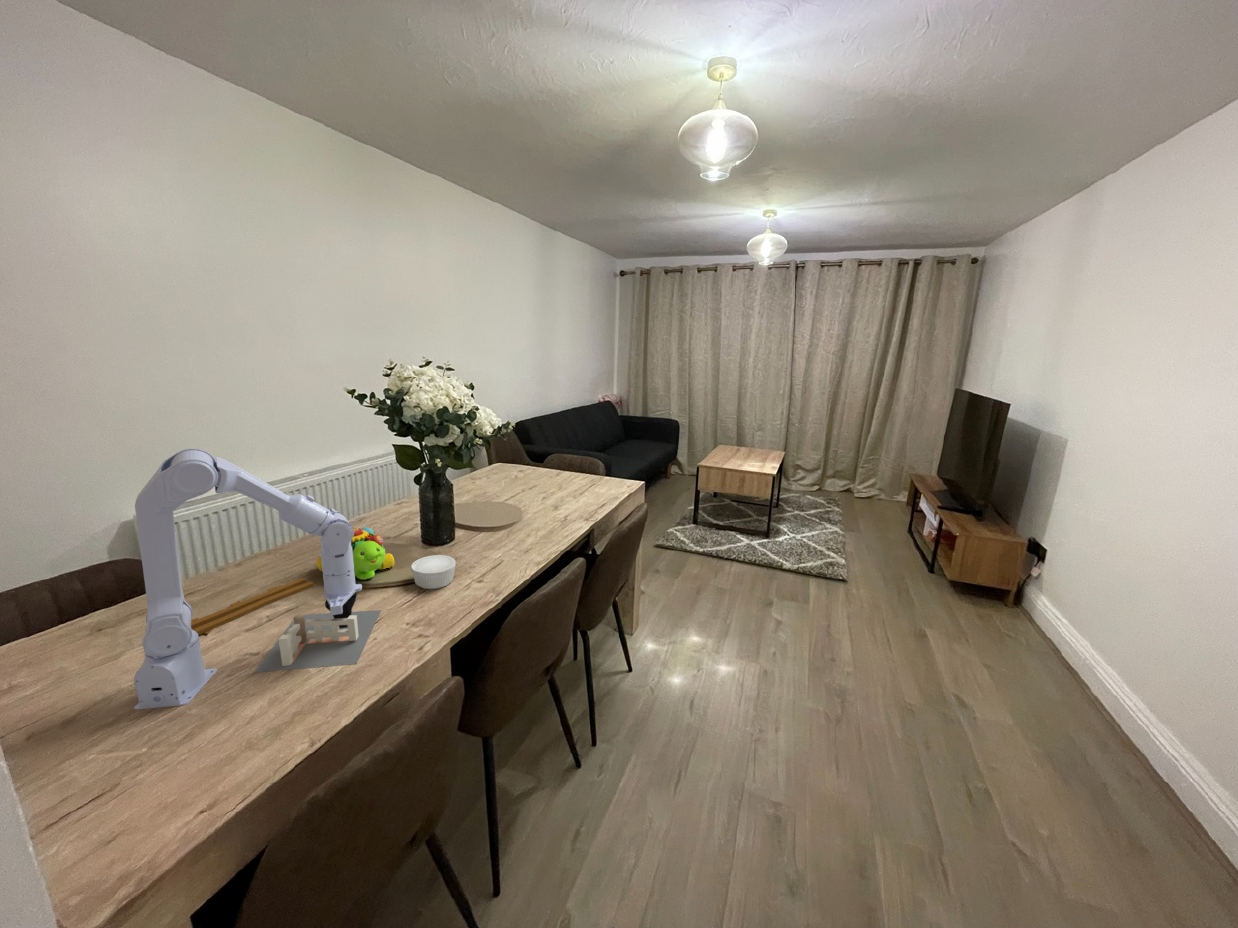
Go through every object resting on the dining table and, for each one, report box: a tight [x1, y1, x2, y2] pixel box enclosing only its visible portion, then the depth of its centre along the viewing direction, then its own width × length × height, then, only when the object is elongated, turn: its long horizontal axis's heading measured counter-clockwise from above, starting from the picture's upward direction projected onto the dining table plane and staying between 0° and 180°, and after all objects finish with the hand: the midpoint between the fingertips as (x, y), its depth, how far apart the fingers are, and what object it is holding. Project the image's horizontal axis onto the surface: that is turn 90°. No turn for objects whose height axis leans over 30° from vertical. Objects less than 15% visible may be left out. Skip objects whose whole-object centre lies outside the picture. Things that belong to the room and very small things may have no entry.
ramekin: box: [410, 554, 457, 590], centre depth 132 cm, size 11×11×5 cm
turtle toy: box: [316, 526, 396, 580], centre depth 133 cm, size 17×23×12 cm
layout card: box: [253, 609, 382, 674], centre depth 106 cm, size 20×18×1 cm
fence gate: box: [305, 615, 359, 641], centre depth 104 cm, size 10×1×5 cm, turn 98°
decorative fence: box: [191, 577, 315, 636], centre depth 116 cm, size 25×2×10 cm
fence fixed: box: [278, 614, 307, 666], centre depth 100 cm, size 9×2×6 cm, turn 12°
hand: (344, 626), depth 106 cm, fingers closed
